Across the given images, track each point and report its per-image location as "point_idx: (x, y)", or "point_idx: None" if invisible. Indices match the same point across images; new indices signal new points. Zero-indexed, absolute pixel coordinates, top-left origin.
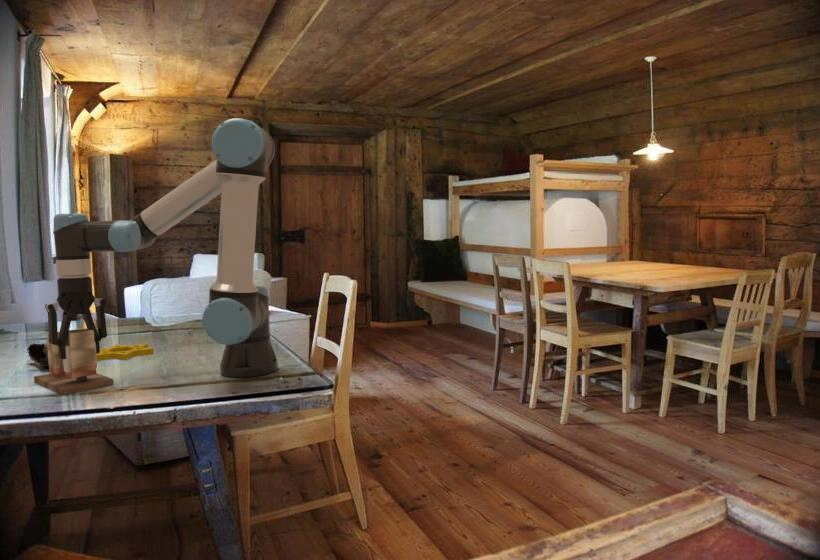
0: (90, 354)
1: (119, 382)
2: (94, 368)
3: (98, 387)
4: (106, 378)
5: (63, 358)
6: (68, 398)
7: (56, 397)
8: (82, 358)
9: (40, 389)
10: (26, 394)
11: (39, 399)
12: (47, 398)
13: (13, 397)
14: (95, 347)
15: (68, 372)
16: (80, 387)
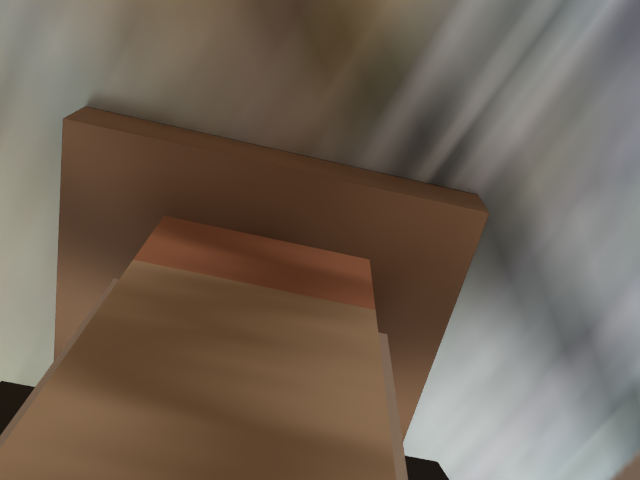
0: (151, 339)
1: (12, 137)
2: (164, 243)
3: (206, 135)
4: (90, 191)
5: (420, 463)
6: (532, 50)
7: (539, 172)
8: (261, 339)
9: (424, 450)
10: (544, 419)
11: (620, 234)
12: (582, 207)
13: (623, 423)
14: (10, 430)
15: (382, 333)
16: (344, 176)
